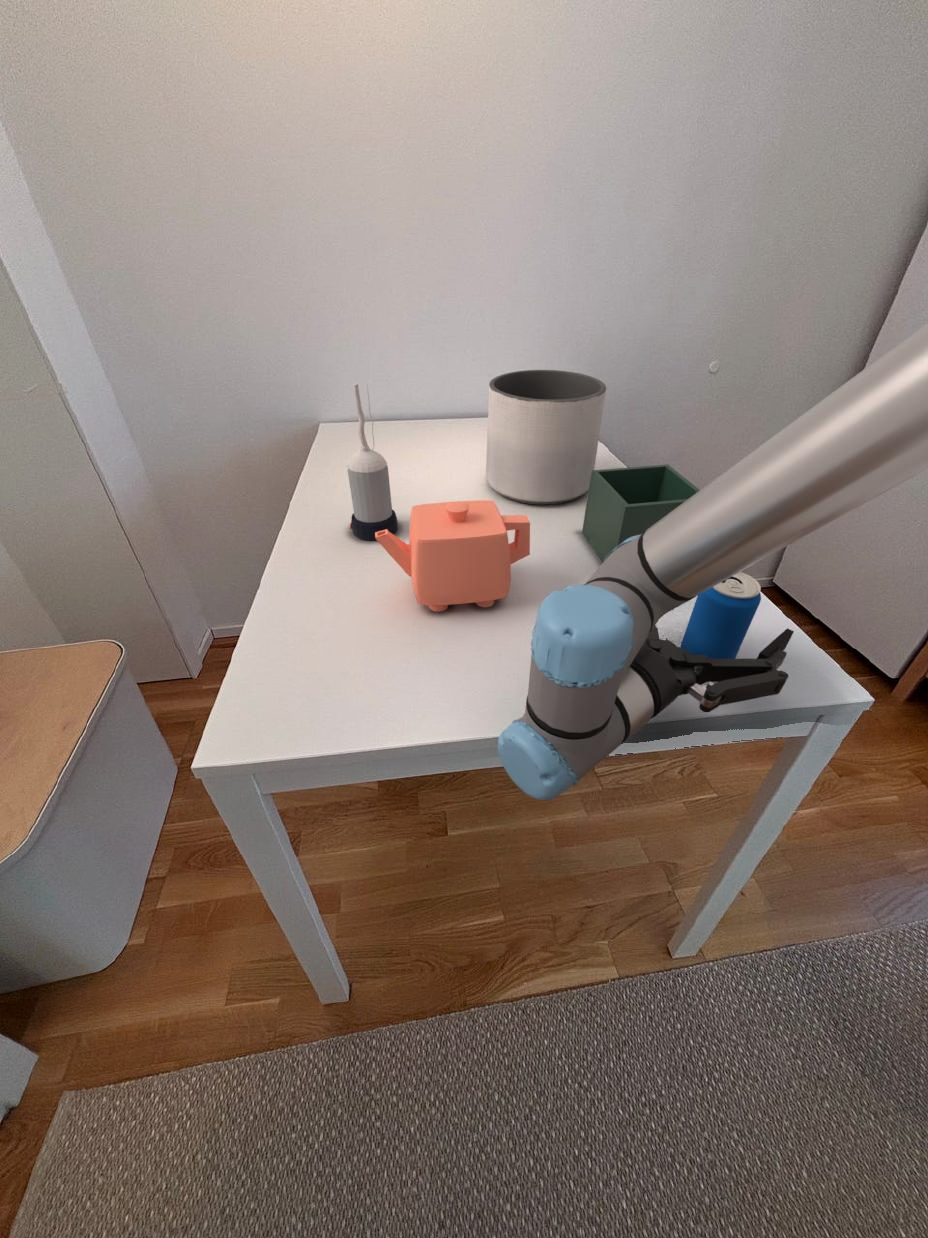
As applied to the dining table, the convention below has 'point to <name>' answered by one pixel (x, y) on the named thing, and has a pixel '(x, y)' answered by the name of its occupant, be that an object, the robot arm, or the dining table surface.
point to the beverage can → (722, 617)
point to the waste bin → (630, 503)
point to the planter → (543, 434)
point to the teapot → (459, 552)
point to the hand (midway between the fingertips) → (731, 611)
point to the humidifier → (369, 487)
